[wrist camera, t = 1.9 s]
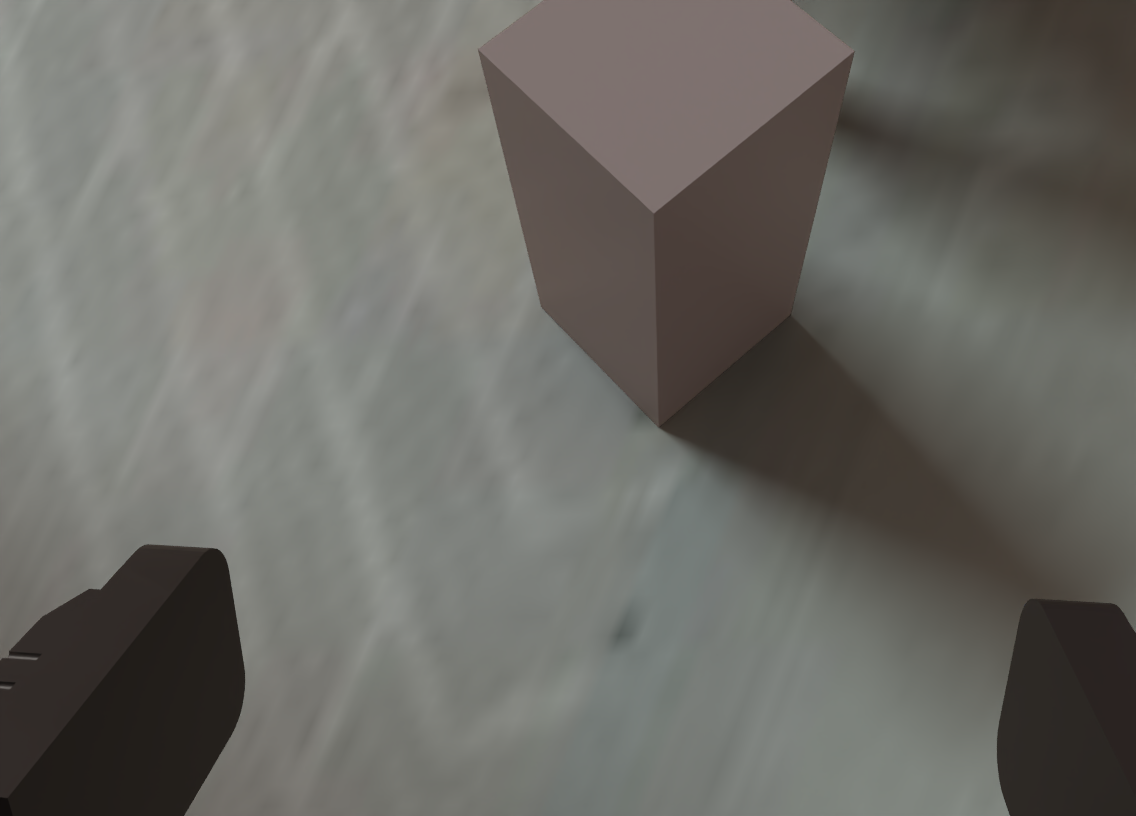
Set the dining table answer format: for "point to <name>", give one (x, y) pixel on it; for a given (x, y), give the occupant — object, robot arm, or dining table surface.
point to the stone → (666, 174)
